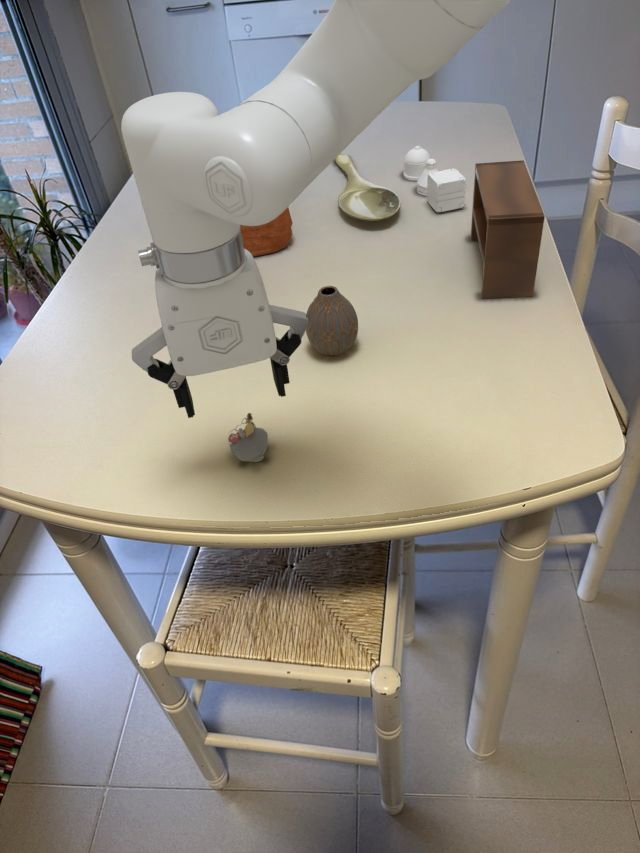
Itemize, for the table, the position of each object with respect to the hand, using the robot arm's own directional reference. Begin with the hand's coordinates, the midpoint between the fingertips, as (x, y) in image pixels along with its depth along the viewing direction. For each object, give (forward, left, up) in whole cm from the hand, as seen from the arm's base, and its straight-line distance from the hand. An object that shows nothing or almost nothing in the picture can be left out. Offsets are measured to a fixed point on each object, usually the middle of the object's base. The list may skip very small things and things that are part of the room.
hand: (235, 398), depth 68 cm
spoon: (-31, -62, -8) cm, 70 cm away
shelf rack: (-43, -26, -8) cm, 51 cm away
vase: (-14, -16, -8) cm, 23 cm away
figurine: (0, 0, -8) cm, 8 cm away
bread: (-8, -58, -8) cm, 59 cm away
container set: (-43, -56, -8) cm, 71 cm away
